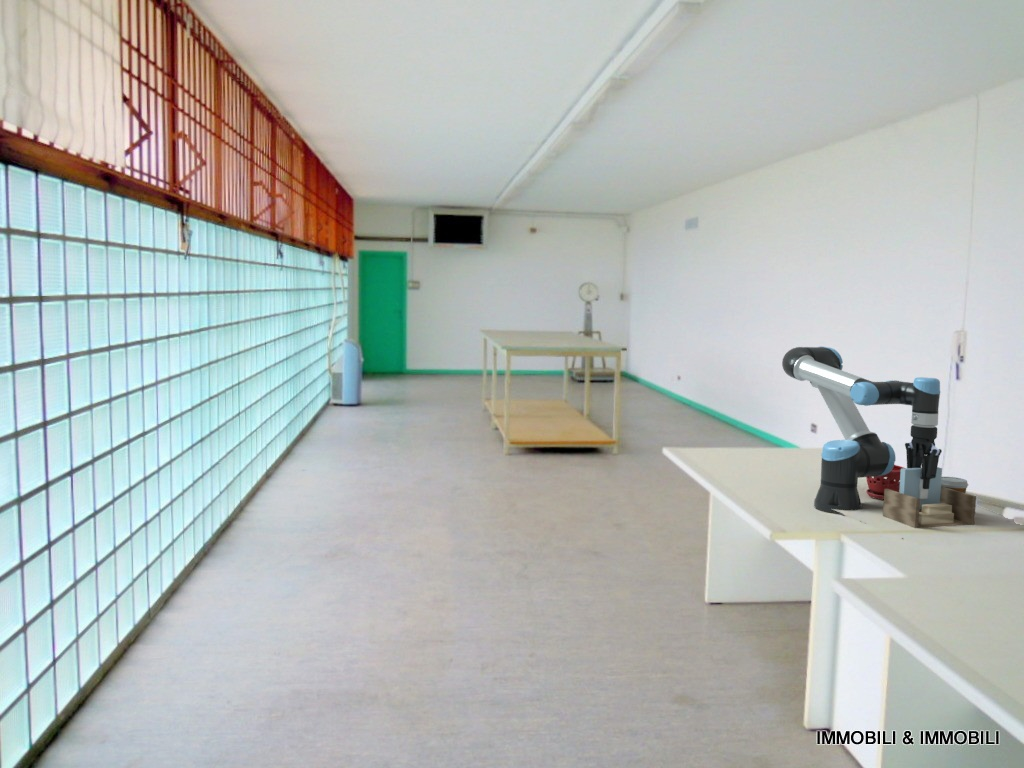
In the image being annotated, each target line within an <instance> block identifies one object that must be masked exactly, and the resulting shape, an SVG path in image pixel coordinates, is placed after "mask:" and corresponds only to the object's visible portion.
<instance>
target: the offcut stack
mask: <svg viewBox="0 0 1024 768" xmlns="http://www.w3.org/2000/svg"><path fill="white" fill-rule="evenodd" d="M953 521H954V513H952V505H949V504H946V503H939V504H926V505H922V511H921V512H919V522H918V523H919V524H937V523H953Z"/></svg>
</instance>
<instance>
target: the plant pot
mask: <svg viewBox="0 0 1024 768" xmlns="http://www.w3.org/2000/svg"><path fill="white" fill-rule="evenodd" d="M901 468H905V467H904V466H900V465H897V464H894V467H893V469H892V470H891V471H890V472H889V473H888V474H886V475H882V476H878V477H865V478H866V484H867V487H868V489H866V491H865V492H866V495H868V497H870V496H871V497H870V498H872V497H874V498H873V499H875V498H879V499H878V500H880V499H884V489H890V490H893V491H896V492H899V489H900V473H901Z"/></svg>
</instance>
